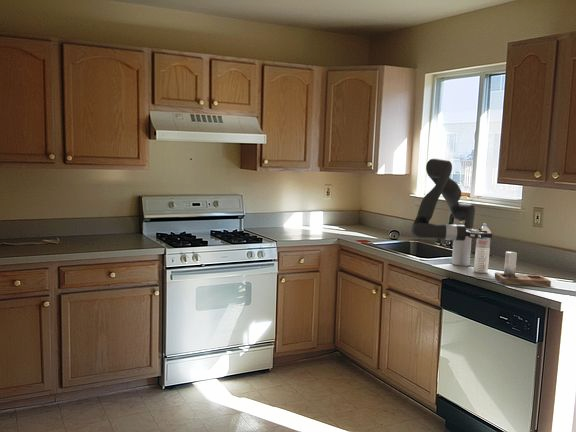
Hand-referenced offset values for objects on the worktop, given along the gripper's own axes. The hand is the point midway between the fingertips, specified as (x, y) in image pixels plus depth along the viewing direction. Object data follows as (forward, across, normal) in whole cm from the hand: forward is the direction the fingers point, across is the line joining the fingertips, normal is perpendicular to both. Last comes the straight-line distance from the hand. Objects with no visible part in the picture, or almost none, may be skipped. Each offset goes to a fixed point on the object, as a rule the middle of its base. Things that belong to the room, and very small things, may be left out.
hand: (489, 234), depth 262 cm
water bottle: (+2, +17, +22) cm, 28 cm away
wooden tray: (+17, 0, +22) cm, 28 cm away
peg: (+11, 0, +22) cm, 25 cm away
